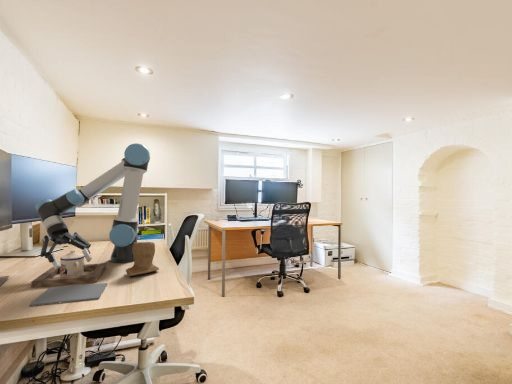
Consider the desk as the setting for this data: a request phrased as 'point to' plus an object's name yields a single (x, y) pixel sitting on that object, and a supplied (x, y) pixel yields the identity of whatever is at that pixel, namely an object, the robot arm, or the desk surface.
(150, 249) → the brown upright rounded piece
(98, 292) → the charcoal rubber mat
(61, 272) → the teacup with lid
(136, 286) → the desk surface
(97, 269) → the walnut holder frame
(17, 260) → the desk surface
